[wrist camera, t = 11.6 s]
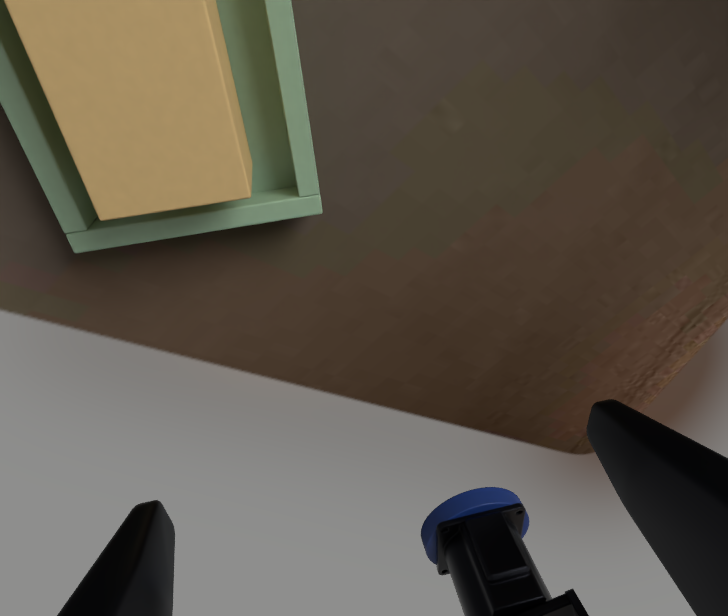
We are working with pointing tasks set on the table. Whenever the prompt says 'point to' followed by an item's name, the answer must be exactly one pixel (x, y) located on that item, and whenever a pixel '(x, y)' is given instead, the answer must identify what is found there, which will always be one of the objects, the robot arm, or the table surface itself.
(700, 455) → the robot arm
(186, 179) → the tan block
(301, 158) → the tray
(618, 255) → the table surface
